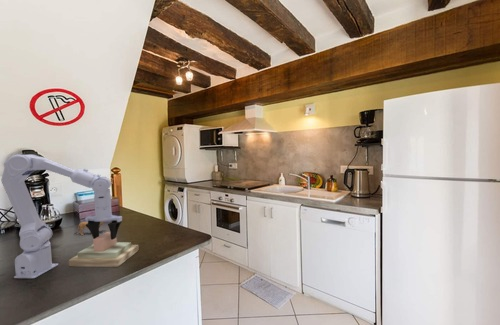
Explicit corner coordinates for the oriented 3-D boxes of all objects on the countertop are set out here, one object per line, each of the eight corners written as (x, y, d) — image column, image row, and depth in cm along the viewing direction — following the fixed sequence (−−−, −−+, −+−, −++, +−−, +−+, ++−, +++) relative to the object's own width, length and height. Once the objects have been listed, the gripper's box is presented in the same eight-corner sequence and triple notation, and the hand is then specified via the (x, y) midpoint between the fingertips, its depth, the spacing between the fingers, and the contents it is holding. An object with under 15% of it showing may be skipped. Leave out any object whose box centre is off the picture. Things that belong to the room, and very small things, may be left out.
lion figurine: (106, 230, 125) (105, 214, 125) (103, 233, 120) (102, 217, 120) (75, 233, 121) (74, 217, 121) (71, 237, 116) (70, 220, 115)
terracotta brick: (103, 251, 88) (102, 239, 87) (94, 251, 88) (93, 239, 88) (116, 243, 96) (116, 231, 95) (108, 243, 96) (107, 231, 96)
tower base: (118, 266, 84) (117, 255, 84) (68, 266, 85) (68, 255, 85) (138, 250, 98) (138, 240, 98) (96, 250, 99) (95, 240, 99)
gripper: (126, 203, 94) (127, 234, 95) (93, 204, 95) (95, 234, 96) (114, 208, 87) (116, 241, 88) (80, 208, 88) (82, 241, 89)
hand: (104, 238), depth 91 cm, fingers open, 7 cm apart
